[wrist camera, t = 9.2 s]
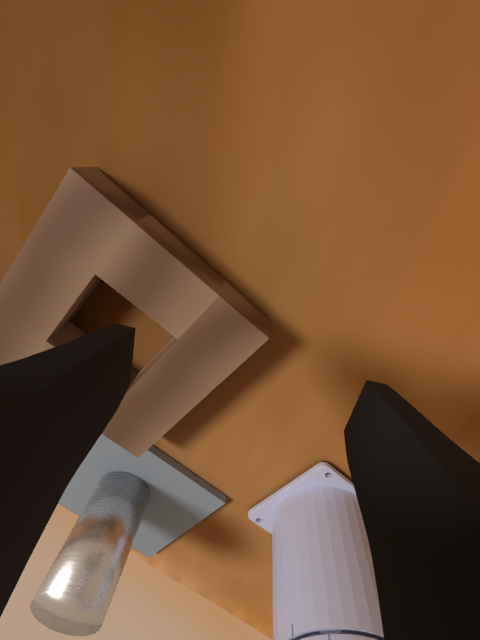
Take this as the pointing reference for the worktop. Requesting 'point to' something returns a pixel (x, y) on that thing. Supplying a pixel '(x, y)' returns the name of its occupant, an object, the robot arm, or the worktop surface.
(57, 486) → the robot arm
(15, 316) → the bore block
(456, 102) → the worktop surface
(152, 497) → the mat
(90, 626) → the plug
